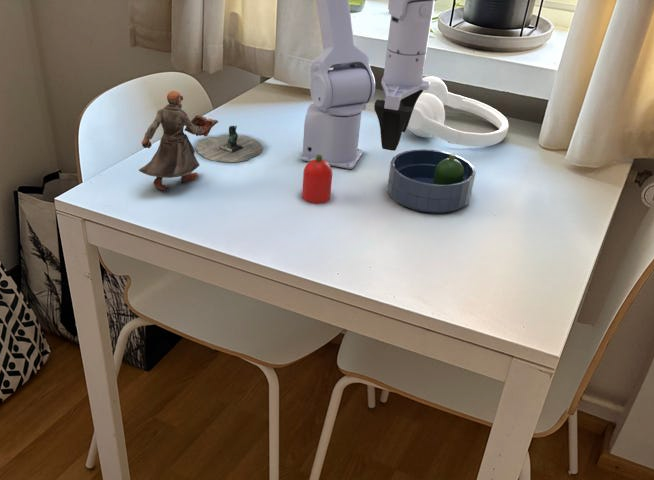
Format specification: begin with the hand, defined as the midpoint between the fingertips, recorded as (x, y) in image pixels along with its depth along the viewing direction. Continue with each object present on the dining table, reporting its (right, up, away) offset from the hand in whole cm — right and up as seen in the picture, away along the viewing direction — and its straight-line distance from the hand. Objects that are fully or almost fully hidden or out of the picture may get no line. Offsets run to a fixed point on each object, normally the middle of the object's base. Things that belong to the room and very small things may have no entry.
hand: (394, 139), depth 116 cm
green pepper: (+9, -7, +7) cm, 13 cm away
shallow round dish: (+7, -7, +7) cm, 12 cm away
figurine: (-34, -6, +6) cm, 36 cm away
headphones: (+16, +11, +30) cm, 36 cm away
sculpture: (-27, +4, +19) cm, 33 cm away
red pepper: (-12, -8, +5) cm, 15 cm away
